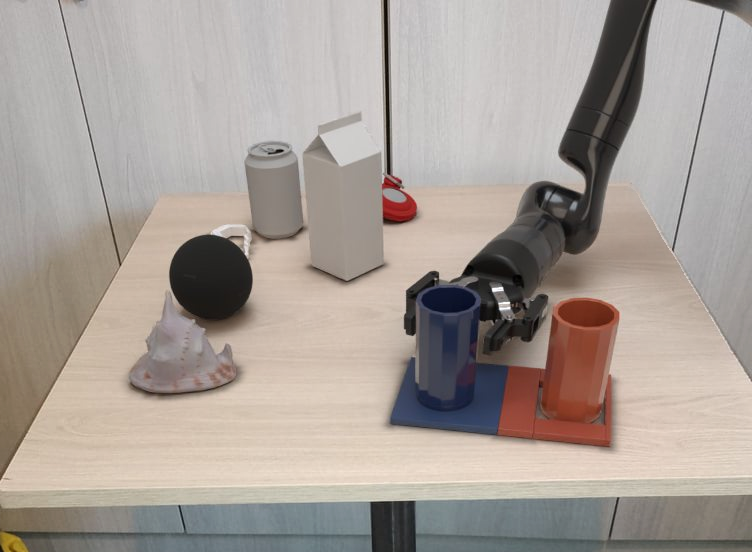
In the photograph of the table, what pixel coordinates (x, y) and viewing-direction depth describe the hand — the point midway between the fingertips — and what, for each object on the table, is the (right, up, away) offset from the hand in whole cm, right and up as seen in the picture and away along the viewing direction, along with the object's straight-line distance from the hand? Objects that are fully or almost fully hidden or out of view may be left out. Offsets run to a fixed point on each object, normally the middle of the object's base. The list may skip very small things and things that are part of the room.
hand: (446, 336), depth 80 cm
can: (-21, +24, +40) cm, 52 cm away
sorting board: (+7, -6, +6) cm, 10 cm away
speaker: (-27, +7, +22) cm, 35 cm away
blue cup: (0, -5, +5) cm, 7 cm away
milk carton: (-11, +16, +31) cm, 36 cm away
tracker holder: (-4, +29, +45) cm, 54 cm away
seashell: (-29, -1, +12) cm, 31 cm away
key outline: (-27, +20, +36) cm, 49 cm away
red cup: (+13, -7, +4) cm, 15 cm away
